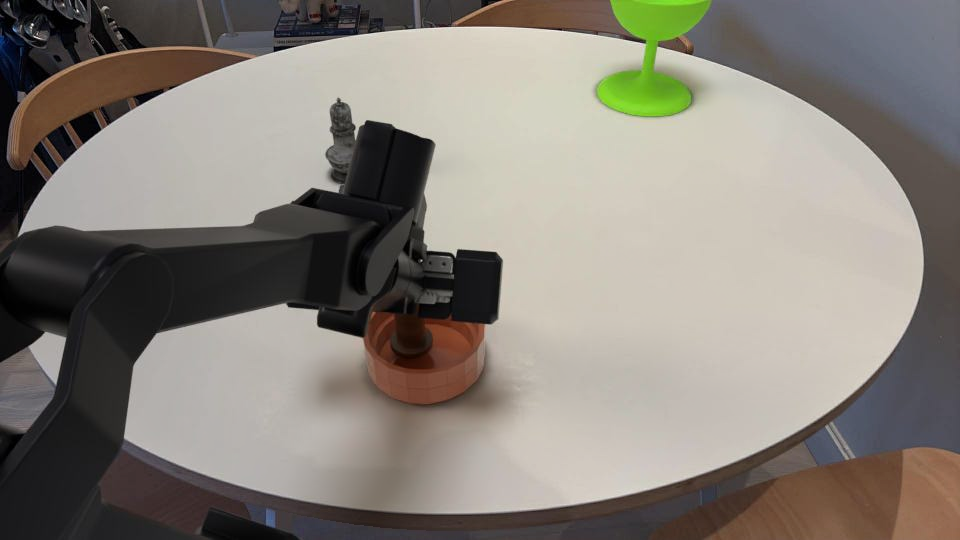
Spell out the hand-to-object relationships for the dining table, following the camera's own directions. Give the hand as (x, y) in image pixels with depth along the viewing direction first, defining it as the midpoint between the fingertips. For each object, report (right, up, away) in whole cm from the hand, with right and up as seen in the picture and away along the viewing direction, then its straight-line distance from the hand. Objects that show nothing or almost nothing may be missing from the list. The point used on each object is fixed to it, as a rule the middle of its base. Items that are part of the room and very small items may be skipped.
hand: (410, 287), depth 69 cm
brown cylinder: (0, -6, +3) cm, 7 cm away
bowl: (+1, -8, +4) cm, 9 cm away
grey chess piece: (-12, +15, +32) cm, 38 cm away
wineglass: (+35, +32, +51) cm, 70 cm away
